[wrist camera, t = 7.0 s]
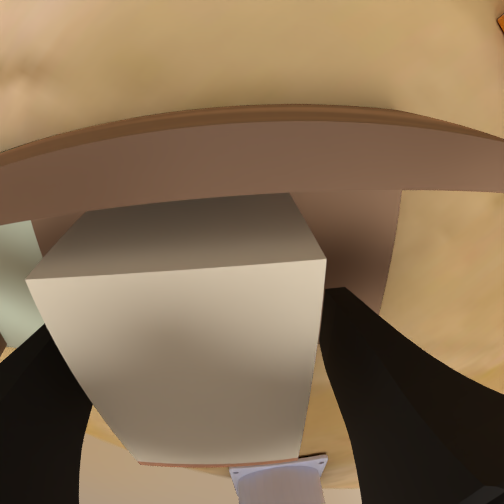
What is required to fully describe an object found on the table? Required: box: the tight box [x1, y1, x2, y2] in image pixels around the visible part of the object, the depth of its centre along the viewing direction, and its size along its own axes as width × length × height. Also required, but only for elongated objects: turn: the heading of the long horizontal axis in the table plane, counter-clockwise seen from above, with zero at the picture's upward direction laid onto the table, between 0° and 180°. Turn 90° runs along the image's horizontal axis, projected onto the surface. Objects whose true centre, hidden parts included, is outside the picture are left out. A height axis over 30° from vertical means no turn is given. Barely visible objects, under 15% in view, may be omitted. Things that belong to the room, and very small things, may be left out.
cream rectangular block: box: [25, 193, 327, 467], centre depth 9 cm, size 7×5×6 cm
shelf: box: [0, 104, 504, 356], centre depth 9 cm, size 10×20×6 cm, turn 93°
